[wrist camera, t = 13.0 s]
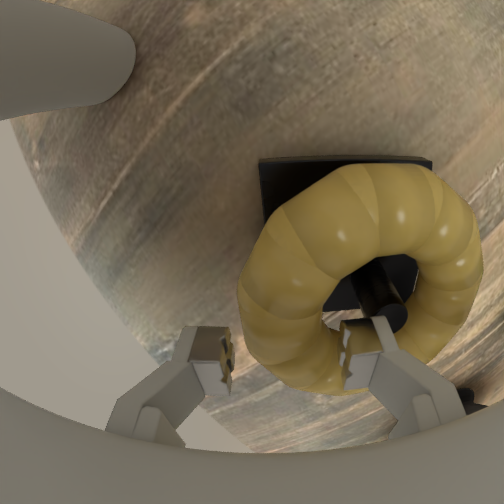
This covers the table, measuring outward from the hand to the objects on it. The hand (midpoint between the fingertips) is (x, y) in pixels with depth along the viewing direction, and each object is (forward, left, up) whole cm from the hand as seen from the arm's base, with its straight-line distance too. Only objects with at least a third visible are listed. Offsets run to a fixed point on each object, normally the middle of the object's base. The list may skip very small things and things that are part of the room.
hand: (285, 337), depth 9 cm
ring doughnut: (+4, 0, -2) cm, 4 cm away
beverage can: (-9, +11, -8) cm, 16 cm away
